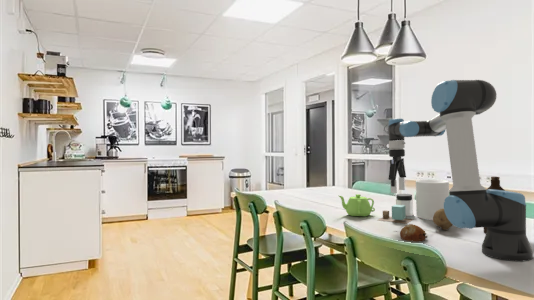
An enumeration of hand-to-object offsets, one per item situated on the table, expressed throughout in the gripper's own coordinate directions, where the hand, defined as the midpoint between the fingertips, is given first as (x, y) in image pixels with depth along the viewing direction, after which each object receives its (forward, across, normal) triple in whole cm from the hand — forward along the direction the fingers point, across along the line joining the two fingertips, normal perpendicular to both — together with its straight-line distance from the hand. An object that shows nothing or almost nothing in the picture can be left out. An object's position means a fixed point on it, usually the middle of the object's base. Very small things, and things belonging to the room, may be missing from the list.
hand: (397, 191), depth 177 cm
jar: (+16, +16, +2) cm, 23 cm away
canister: (+16, +18, -12) cm, 27 cm away
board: (+16, +1, +2) cm, 16 cm away
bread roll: (+16, -26, -15) cm, 34 cm away
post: (+15, 0, 0) cm, 15 cm away
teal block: (+14, 0, 0) cm, 14 cm away
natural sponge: (+16, -4, -22) cm, 28 cm away
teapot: (+16, +2, +24) cm, 29 cm away
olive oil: (+16, +1, -42) cm, 45 cm away
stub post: (+15, +4, +8) cm, 18 cm away
